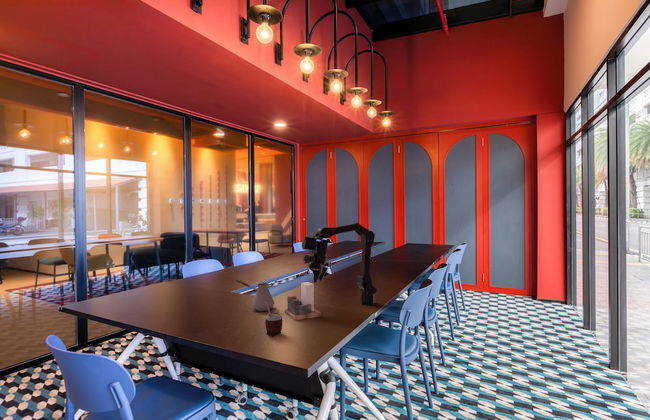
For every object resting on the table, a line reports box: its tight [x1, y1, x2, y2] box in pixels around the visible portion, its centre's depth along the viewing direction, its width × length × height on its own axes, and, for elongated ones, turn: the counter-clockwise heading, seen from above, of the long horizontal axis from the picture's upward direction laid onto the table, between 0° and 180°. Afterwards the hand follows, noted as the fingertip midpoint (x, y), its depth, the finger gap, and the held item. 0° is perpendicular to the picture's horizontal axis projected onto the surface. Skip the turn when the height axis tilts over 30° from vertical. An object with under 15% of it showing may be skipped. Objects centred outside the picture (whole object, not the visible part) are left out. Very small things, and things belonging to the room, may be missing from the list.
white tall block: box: [300, 281, 315, 311], centre depth 169 cm, size 4×6×13 cm, turn 27°
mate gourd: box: [263, 301, 283, 337], centre depth 142 cm, size 8×8×15 cm
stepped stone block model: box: [284, 295, 322, 321], centre depth 168 cm, size 14×14×10 cm
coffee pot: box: [234, 279, 275, 312], centre depth 179 cm, size 21×12×15 cm, turn 80°
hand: (317, 281), depth 175 cm, fingers open, 9 cm apart
